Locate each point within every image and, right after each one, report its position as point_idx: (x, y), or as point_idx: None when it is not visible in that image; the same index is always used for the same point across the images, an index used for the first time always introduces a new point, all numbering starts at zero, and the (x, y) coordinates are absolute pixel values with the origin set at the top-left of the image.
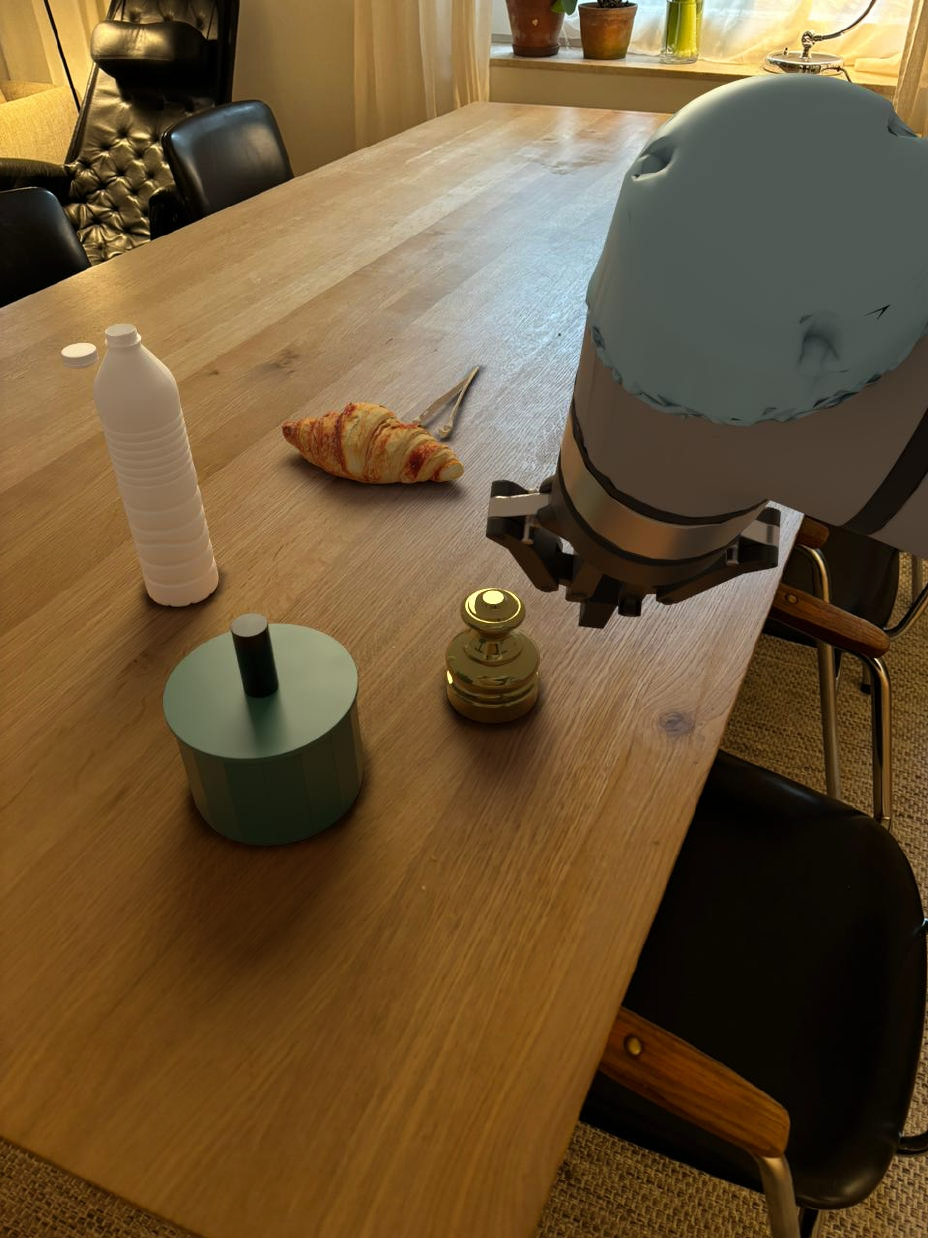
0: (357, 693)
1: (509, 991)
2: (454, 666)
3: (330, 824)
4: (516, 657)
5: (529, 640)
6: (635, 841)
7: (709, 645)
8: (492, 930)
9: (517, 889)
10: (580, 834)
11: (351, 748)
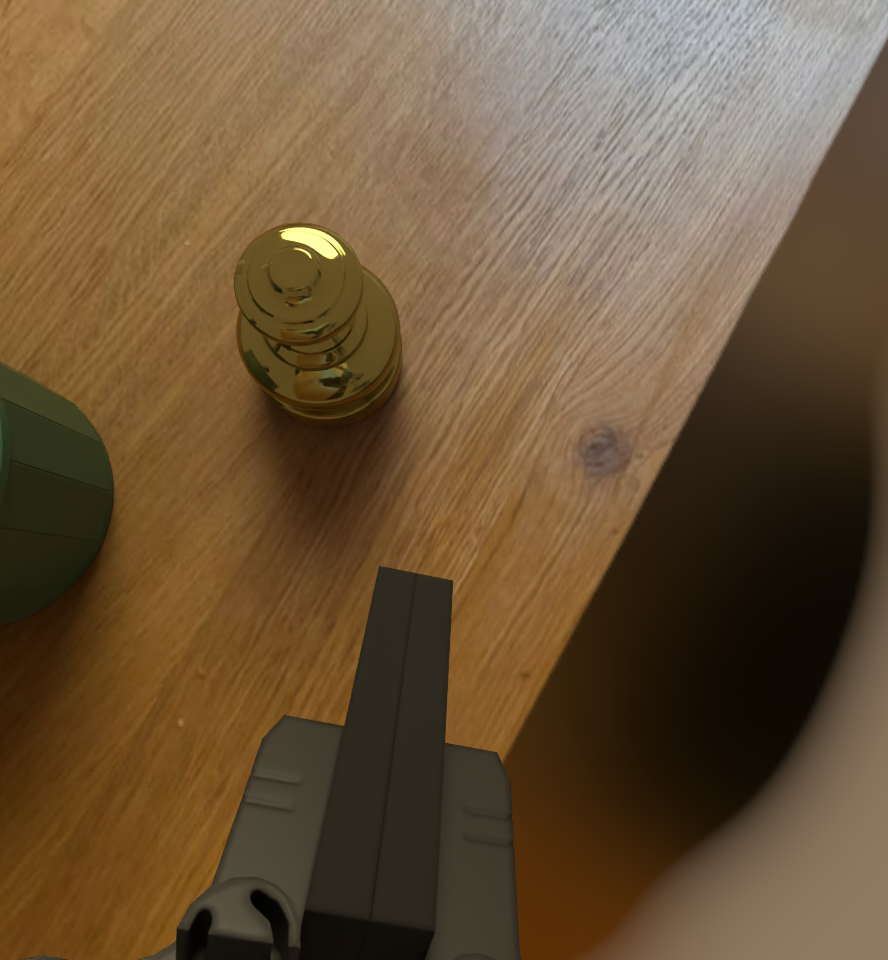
0: (1, 494)
1: None
2: (245, 355)
3: (54, 599)
4: (350, 356)
5: (383, 309)
6: (496, 669)
7: (691, 292)
8: None
9: None
10: None
11: (38, 542)
